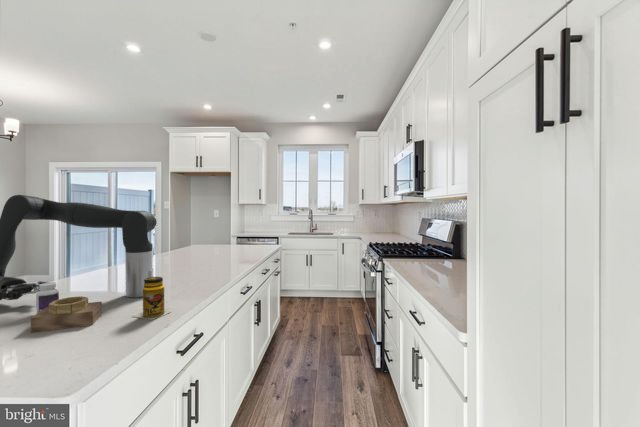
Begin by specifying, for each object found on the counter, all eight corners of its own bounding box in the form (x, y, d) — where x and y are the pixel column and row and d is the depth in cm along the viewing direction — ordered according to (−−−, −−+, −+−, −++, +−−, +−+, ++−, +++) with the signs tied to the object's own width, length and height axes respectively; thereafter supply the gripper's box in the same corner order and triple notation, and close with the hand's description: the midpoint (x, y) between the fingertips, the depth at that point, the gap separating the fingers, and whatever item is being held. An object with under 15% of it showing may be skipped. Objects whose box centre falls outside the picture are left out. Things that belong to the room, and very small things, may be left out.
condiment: (153, 320, 92) (152, 281, 92) (132, 317, 95) (131, 279, 95) (171, 312, 99) (171, 276, 99) (151, 309, 102) (151, 274, 101)
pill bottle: (63, 311, 99) (62, 282, 99) (43, 317, 94) (43, 286, 94) (52, 309, 101) (52, 281, 101) (32, 315, 96) (32, 285, 95)
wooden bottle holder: (101, 313, 97) (101, 293, 97) (92, 324, 88) (92, 302, 88) (46, 319, 92) (46, 298, 92) (30, 332, 83) (30, 309, 82)
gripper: (-22, 281, 99) (5, 286, 93) (32, 273, 113) (58, 276, 107) (-22, 304, 99) (5, 310, 93) (32, 292, 113) (59, 297, 107)
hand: (34, 292), depth 100 cm, fingers open, 8 cm apart
